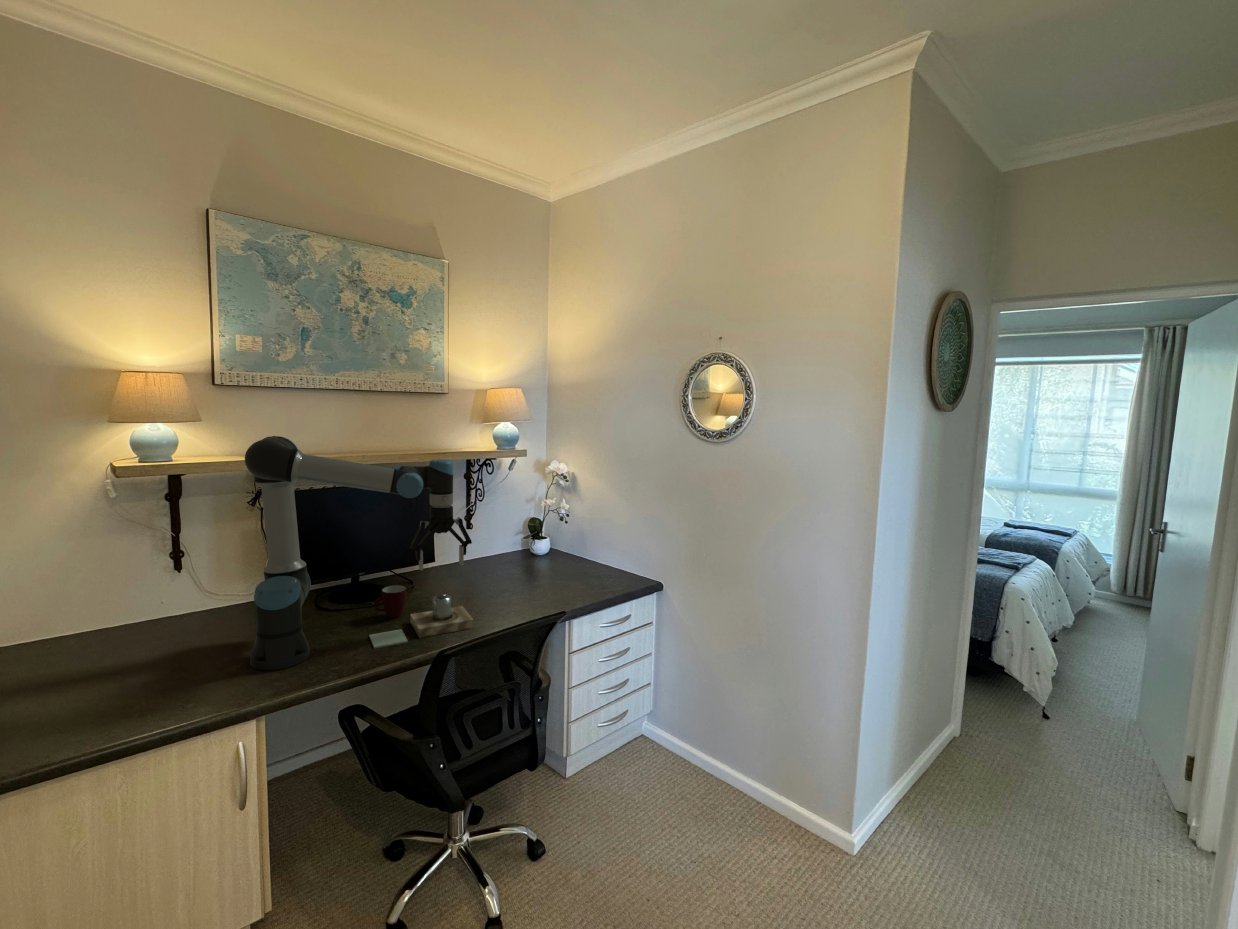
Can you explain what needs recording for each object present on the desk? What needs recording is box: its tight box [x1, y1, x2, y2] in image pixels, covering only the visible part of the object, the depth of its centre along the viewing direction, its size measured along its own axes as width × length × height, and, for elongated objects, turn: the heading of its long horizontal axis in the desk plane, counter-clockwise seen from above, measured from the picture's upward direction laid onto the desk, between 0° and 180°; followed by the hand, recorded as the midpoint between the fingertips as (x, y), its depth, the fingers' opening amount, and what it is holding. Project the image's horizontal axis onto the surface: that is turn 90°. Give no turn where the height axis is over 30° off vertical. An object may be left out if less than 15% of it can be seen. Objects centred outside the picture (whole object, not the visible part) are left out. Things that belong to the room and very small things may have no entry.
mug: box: [373, 584, 407, 619], centre depth 203 cm, size 10×8×10 cm
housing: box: [409, 605, 475, 639], centre depth 198 cm, size 18×14×3 cm
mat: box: [368, 629, 409, 650], centre depth 186 cm, size 10×10×1 cm
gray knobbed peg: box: [432, 592, 452, 621], centre depth 198 cm, size 6×6×11 cm
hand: (441, 566), depth 196 cm, fingers open, 13 cm apart
